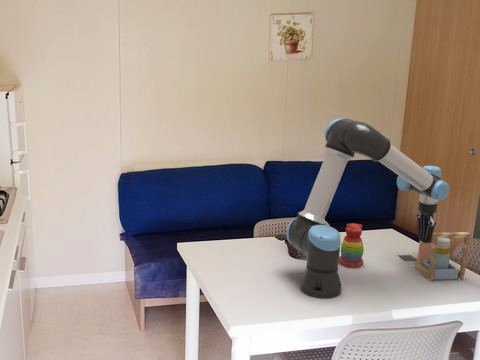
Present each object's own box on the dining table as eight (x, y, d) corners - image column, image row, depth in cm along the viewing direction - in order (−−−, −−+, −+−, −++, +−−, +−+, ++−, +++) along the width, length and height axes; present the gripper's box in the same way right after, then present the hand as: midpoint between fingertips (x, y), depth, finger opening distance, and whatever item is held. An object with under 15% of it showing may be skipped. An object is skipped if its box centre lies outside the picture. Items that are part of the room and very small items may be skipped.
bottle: (449, 277, 220) (454, 242, 217) (432, 276, 220) (436, 241, 217) (443, 271, 227) (448, 236, 224) (426, 270, 227) (431, 236, 224)
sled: (433, 279, 217) (436, 258, 215) (413, 262, 235) (415, 242, 233) (457, 279, 218) (460, 257, 216) (435, 262, 236) (438, 242, 234)
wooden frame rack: (429, 281, 216) (435, 234, 211) (413, 267, 230) (418, 223, 225) (464, 280, 218) (470, 233, 213) (446, 267, 232) (451, 222, 227)
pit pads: (403, 260, 237) (403, 260, 237) (398, 255, 243) (398, 255, 243) (438, 260, 240) (438, 259, 239) (432, 255, 245) (432, 254, 245)
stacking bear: (362, 260, 236) (365, 220, 232) (365, 269, 226) (369, 228, 222) (337, 258, 237) (340, 219, 233) (338, 267, 227) (342, 226, 223)
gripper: (444, 206, 227) (437, 259, 232) (429, 198, 239) (423, 249, 245) (427, 206, 226) (420, 260, 231) (413, 198, 238) (407, 249, 243)
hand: (422, 254), depth 238 cm, fingers closed
